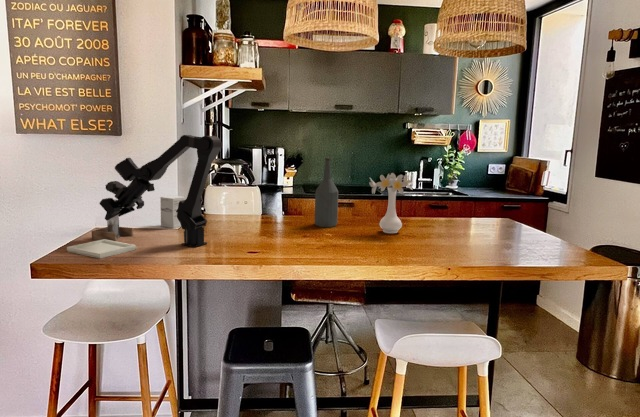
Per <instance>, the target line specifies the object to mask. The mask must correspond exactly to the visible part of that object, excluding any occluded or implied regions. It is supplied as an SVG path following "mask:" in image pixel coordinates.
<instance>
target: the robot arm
mask: <svg viewBox="0 0 640 417" xmlns="http://www.w3.org/2000/svg"><path fill="white" fill-rule="evenodd" d="M222 146H223V143H222V141H221V139H220V138H219V137H218V136H216V135H203V136H195V135H192V134H184V135H181V136H180V137H179V139H178V140H177V141H175V142H174V143H173V144H172V145H171V146H170V147H169V148H167V149H166V150H165V151H164V152H162V154H161V155H159V156H158V157H157V158H155V159H153V160H151V161H149V162H147V163H145V164H142V165H141V166H140V167H138V166H137V164H136V163H135V162H134V160H133V159H132V158H131V157H126V158H124V159H123V160H121V161H120V162H119V163H117V164H115V166H114V170H115V171H116V172H117V173H118V175H120V178H122V179H123V181H124V182H125V181H126V182H130V183H129V184H128V185H127V186H126V185H125V184H123V183H121V182H120V181H117V180H113V181H108V182H107V184H105V190H106V191H107V192H109V193H112V194H113V195H114V198H115V199H114V198H113V197H106V198H102V199H101V200H100V201H99V205H100V206H101V207H102V209H103V210H104V211H105V212H106V213H105V217H104V220H106V221H107V220H109V219H111V218H113V217H115V216H117V215H119V218H120V217H122V216H124V215H127V214H129V213H131V212H133V211H136V209H137V210H140V209H142V208H143V207H144V206H145V201H144V200H143V195H144V193H146V192H154V191H155V185H154V183H152V182H153V181H156V180H157V181H158V180H160V179H162V177H163V176H164V175H165V174H166V172H167V170H168V168H169V166H171V164H172V163H174V162H175V161H176V160H177V159H179V157H181V156H182V155H184V154H185V152H187V151H188V150H189V149H190V148H192V149H195V150H196V157H197V163H196V166H195V169H194V173H193V176H192V179H191V182H190V185H189V189H188V192H187V195H186V197H185V200H183V201H180V202H179V204H178V209H177V211H176V212H178V213H177V218H178V220H179V222H180V224H181V227H180V228H181V229H182V230H184V231H183V242H181V246H187V247H192V248H197V247H200V246H204V245H207V244H208V242H207V241H205V228H204V227H205V226H207V222H208V220H207V219H206V217H205V216H204V215H203V214H202V202H201V200H202V196H203V193H204V190H205V186H206V182H207V180H208V176H209V173H210V171H211V166H212V163H213V162H214V160H216V158H217V157H218V156H219V153H220V151H221V149H222ZM151 181H152V182H151ZM114 200H115V201H114ZM136 205H137V206H136ZM135 206H136V209H135V208H134V207H135Z"/></svg>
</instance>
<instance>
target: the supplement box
mask: <svg viewBox="0 0 640 417" xmlns="http://www.w3.org/2000/svg"><path fill="white" fill-rule="evenodd" d="M177 196H178V195H177ZM183 200H186V197H185V196H180V195H179V196H178V197H164V196H160V227H163V228H169V229H177V228H182V227H181V224H180V222H179V220H178V218H177V213H178V212H176V211H177V209H178V204H179V202H180V201H183Z"/></svg>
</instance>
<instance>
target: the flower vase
mask: <svg viewBox="0 0 640 417" xmlns="http://www.w3.org/2000/svg"><path fill="white" fill-rule="evenodd" d="M379 179H380V181H378V182H375V181H374V180H373V179H372V178H371V177H369V180H370V182H369V184H368V185H369V186H370V187H371V194H372V195H376V194H375V193H376V191H377V190H376V189H377V188H378V190H379V189H380V191H381V192H384V191H385V189H386V188H387V193H388V201H387V202H388V203H387V210H386V213H385V215H384V216H383V217H382V218H381V219H380V221H379V227H380V228H381V229H382V232H383V233H385V234H397V233H398V232H399V230H400V229H401V228H402V227H403V223H402V220H401V219H400V218H399V217H398V216H397V215H398V214H397V209H396V200H397V191H398V193H399V194H401V195H403V194H404V188H405V187H407V188H409V189H410V190H412V191H413V187H412V184H413V182H412V180H411V179H409V176H408V174H407V173H405V175H403V174H398V175H396V174H395V173H394V172H391V173H388V174H387V176H386V177H385V176H384V175H383V174H381V175H380V176H379Z"/></svg>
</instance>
